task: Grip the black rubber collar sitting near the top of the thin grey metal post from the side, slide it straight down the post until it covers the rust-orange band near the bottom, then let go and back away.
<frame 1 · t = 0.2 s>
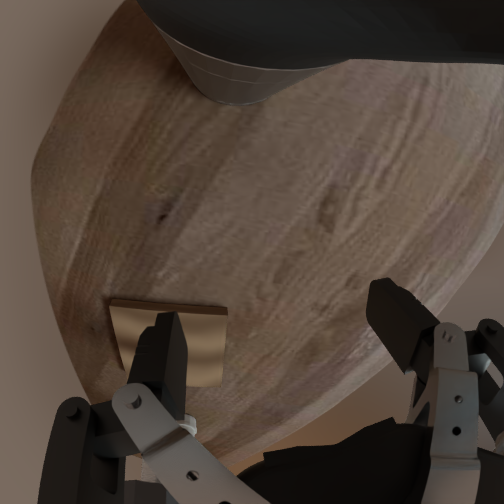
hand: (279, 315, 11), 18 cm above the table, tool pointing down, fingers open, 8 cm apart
post: (170, 345, 34), on the table
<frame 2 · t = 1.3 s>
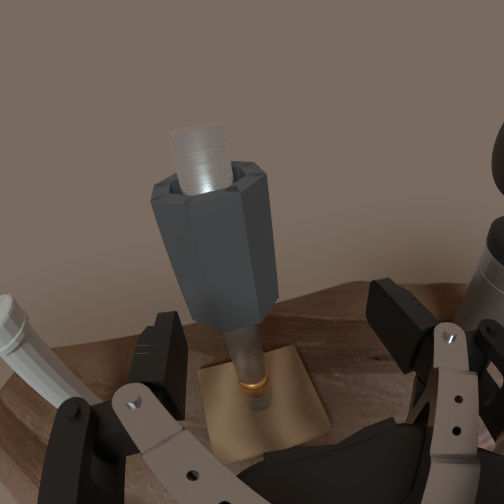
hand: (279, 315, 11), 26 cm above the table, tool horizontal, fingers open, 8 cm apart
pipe: (119, 432, 28), on the table
collar: (220, 245, 17), point 25 cm above the table, slide at 14.0 cm
post: (260, 404, 31), on the table
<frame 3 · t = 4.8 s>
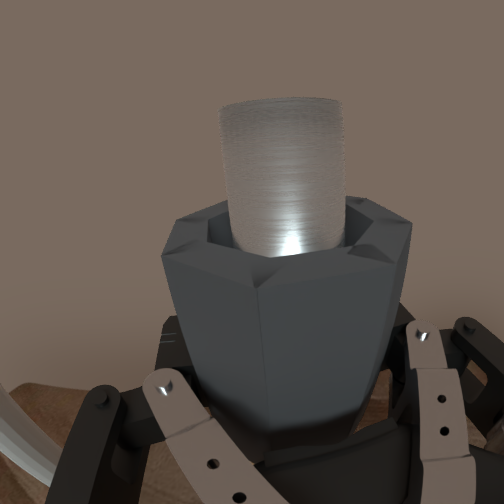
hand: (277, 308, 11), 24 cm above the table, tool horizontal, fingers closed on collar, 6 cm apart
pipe: (109, 501, 17), on the table
collar: (291, 345, 9), point 25 cm above the table, slide at 14.0 cm, touching gripper
post: (286, 498, 19), on the table
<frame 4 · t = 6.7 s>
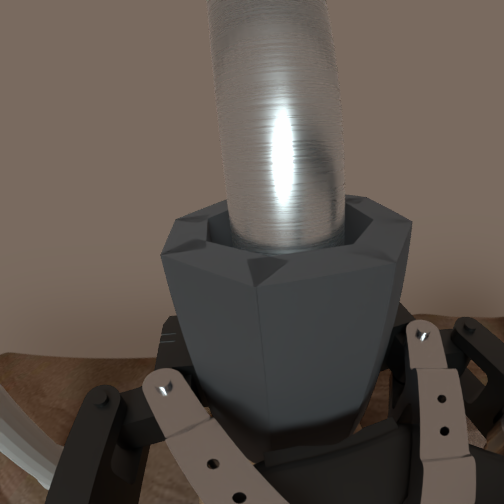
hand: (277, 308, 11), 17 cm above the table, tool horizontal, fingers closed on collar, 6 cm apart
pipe: (73, 480, 14), on the table
collar: (291, 344, 9), point 17 cm above the table, slide at 6.4 cm, touching gripper
post: (288, 481, 16), on the table
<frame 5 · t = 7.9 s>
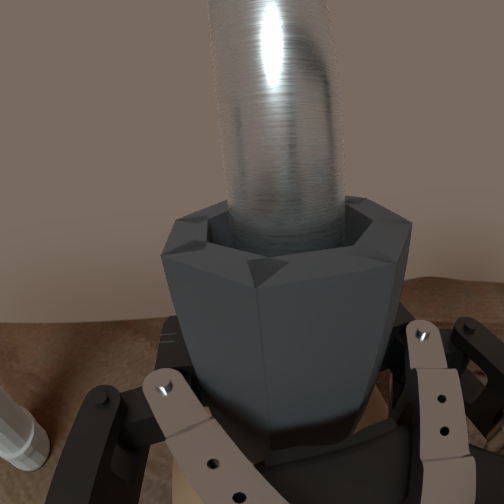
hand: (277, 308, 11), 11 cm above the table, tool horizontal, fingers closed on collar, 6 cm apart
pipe: (33, 450, 12), on the table
collar: (291, 345, 9), point 11 cm above the table, slide at 0.2 cm, touching gripper
post: (288, 457, 14), on the table
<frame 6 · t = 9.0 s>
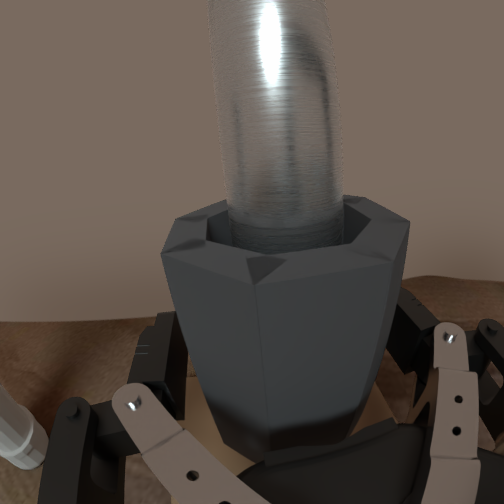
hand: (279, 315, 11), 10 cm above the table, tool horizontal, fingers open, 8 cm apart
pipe: (32, 449, 12), on the table
collar: (290, 343, 9), point 11 cm above the table, slide at 0.1 cm
post: (288, 456, 14), on the table
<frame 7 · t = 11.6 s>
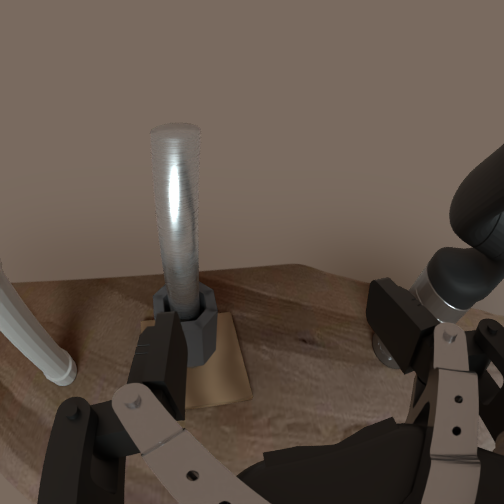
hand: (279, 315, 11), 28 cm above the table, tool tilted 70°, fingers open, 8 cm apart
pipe: (65, 372, 31), on the table
collar: (187, 326, 29), point 11 cm above the table, slide at 0.1 cm
post: (192, 362, 37), on the table
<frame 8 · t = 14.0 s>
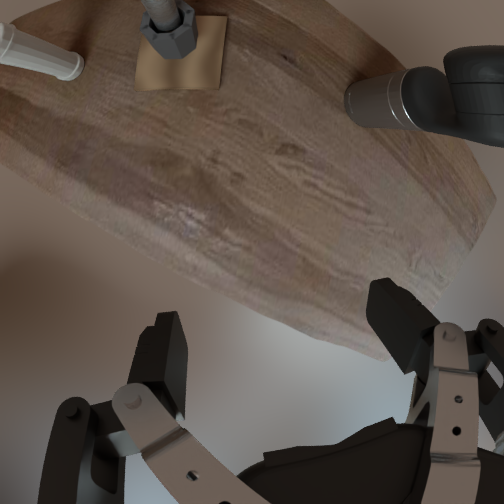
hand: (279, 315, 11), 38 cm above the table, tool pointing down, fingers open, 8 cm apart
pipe: (75, 68, 33), on the table
collar: (171, 31, 26), point 11 cm above the table, slide at 0.1 cm
post: (180, 52, 35), on the table
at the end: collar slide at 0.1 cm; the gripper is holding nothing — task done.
